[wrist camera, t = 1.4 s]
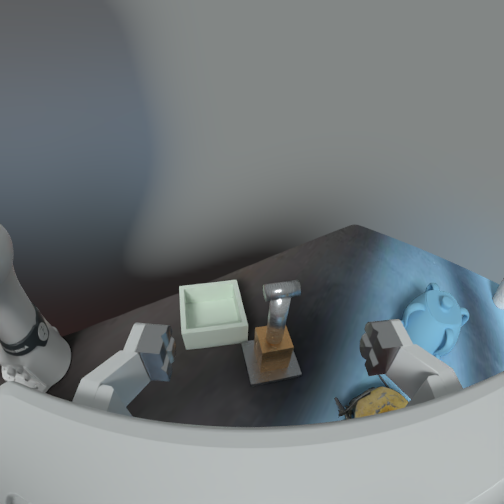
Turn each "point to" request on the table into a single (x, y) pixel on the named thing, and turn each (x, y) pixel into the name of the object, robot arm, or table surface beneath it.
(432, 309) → the decorative pot
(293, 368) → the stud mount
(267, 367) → the strut
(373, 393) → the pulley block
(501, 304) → the white cup
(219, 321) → the bin
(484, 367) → the table surface
